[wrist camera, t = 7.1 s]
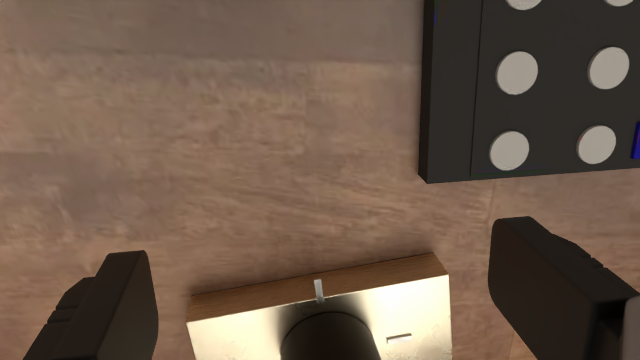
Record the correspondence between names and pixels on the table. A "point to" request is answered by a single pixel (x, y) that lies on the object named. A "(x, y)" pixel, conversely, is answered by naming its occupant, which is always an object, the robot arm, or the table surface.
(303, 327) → the hob knob
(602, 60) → the remote control
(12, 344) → the table surface
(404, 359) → the panel
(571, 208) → the table surface
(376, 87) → the table surface
